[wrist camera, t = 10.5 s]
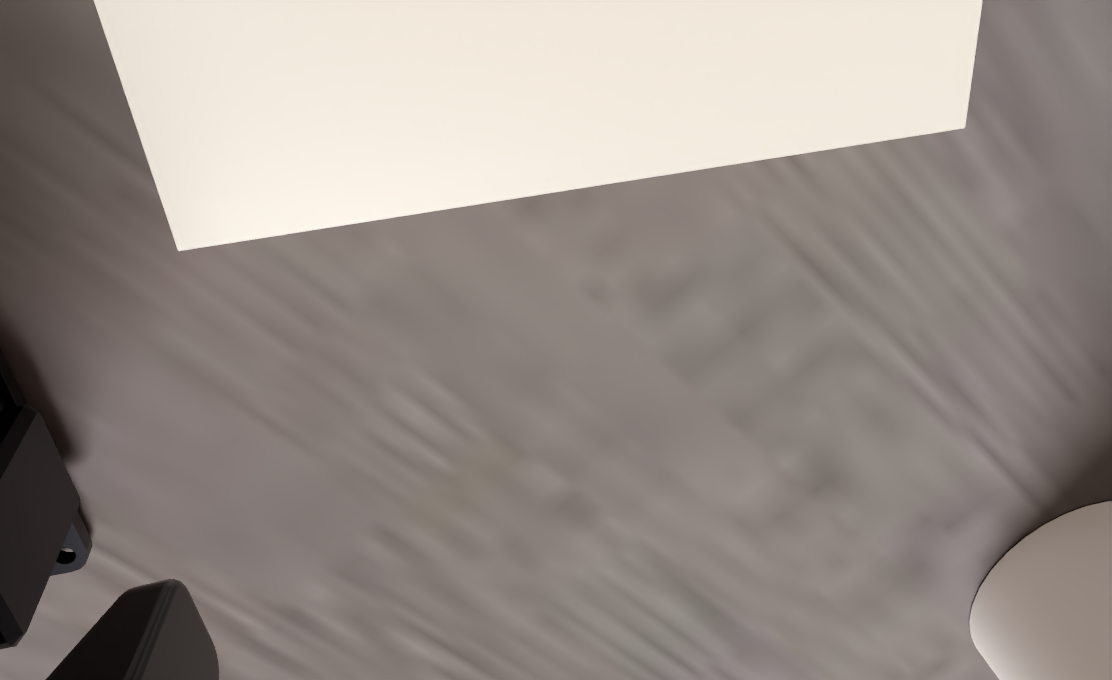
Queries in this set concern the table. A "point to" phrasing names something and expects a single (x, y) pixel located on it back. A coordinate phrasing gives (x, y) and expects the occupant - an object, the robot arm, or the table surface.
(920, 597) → the table surface
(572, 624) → the table surface
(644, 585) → the table surface
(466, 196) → the socket
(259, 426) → the table surface
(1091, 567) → the cylindrical container
